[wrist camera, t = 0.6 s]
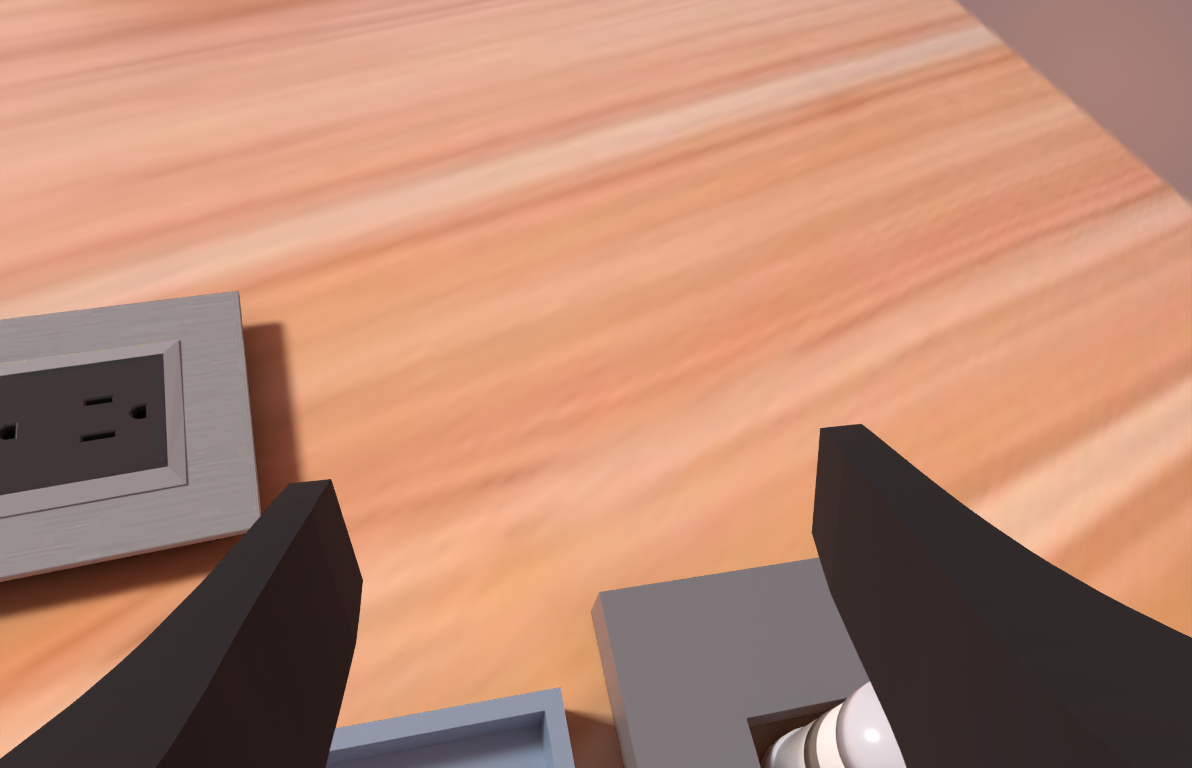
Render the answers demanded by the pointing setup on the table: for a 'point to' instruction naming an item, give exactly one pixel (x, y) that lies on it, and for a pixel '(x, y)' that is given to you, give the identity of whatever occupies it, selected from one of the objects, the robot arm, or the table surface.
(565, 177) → the table surface
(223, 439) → the electrical outlet
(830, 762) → the white light bulb
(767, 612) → the light bulb socket board
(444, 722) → the tray
